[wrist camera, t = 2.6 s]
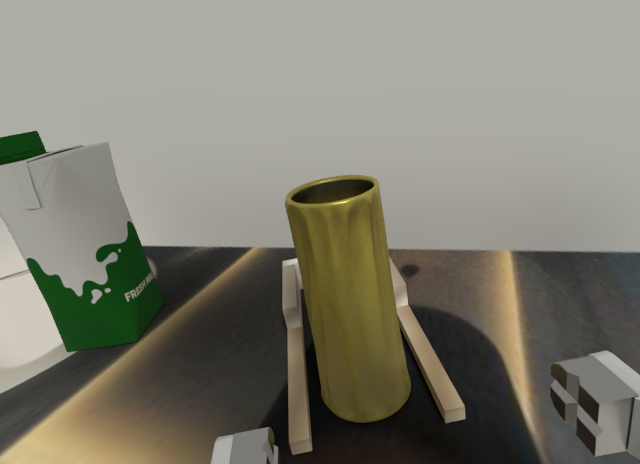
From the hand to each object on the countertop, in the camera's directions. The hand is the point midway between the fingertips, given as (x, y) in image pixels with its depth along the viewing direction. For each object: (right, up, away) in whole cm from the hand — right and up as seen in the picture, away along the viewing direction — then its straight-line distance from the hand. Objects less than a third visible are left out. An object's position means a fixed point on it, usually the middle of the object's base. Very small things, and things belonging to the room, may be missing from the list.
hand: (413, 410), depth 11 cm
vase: (0, -6, +15) cm, 17 cm away
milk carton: (-23, -5, +29) cm, 38 cm away
